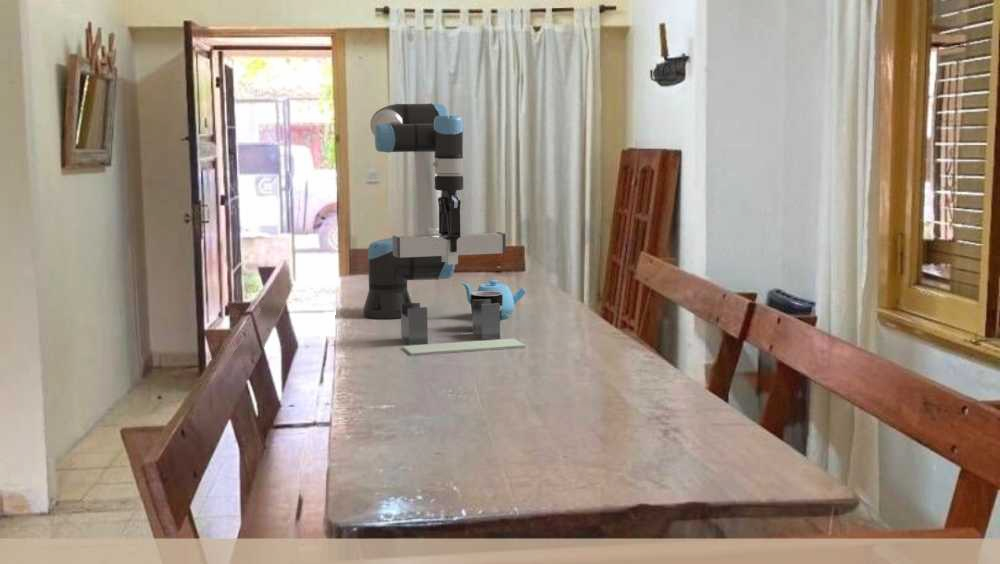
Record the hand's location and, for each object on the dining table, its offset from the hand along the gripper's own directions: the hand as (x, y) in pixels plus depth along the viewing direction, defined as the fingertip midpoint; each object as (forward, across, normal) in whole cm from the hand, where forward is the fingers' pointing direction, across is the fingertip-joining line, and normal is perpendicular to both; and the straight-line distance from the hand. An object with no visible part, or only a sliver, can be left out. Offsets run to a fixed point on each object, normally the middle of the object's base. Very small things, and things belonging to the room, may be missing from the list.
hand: (449, 262), depth 267 cm
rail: (-2, 0, 0) cm, 2 cm away
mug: (+21, -12, +14) cm, 28 cm away
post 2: (+21, 0, +10) cm, 23 cm away
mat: (+20, +13, 0) cm, 24 cm away
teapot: (+21, -27, +21) cm, 40 cm away
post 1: (+21, 0, -10) cm, 23 cm away
